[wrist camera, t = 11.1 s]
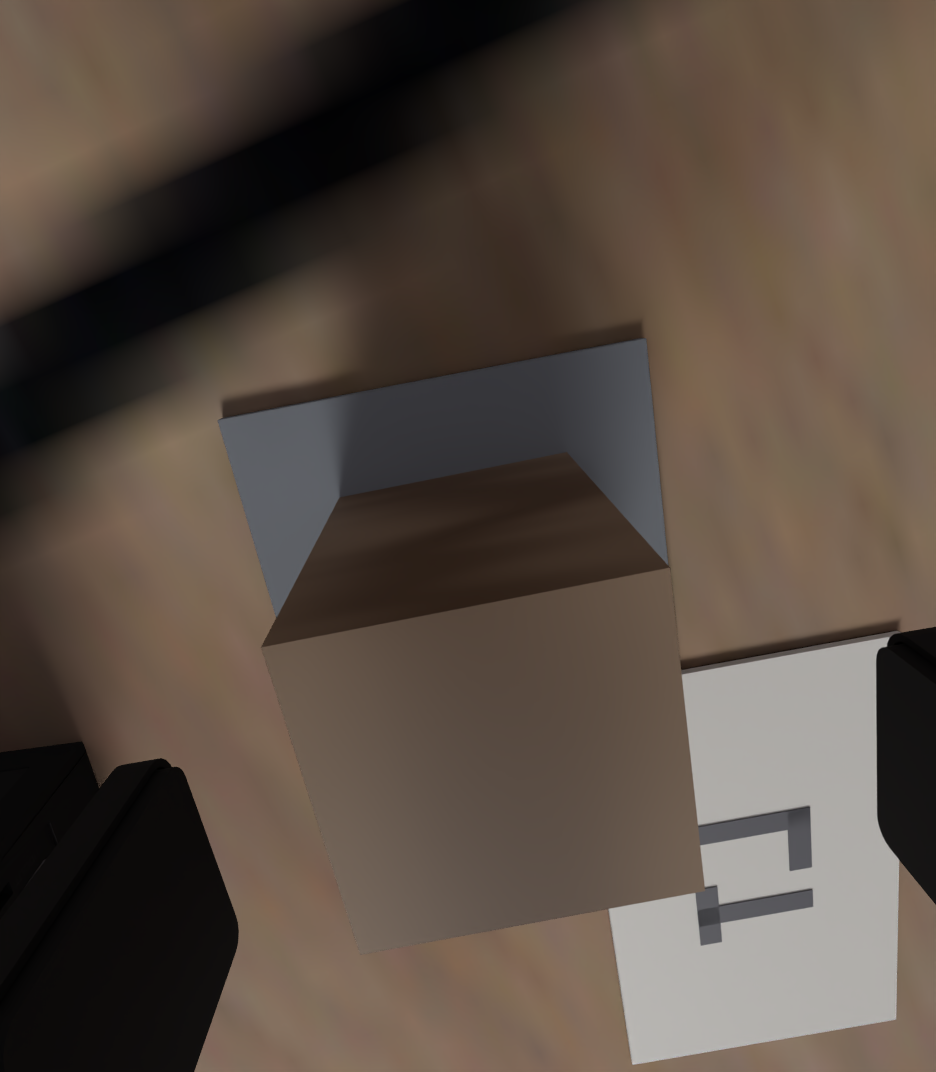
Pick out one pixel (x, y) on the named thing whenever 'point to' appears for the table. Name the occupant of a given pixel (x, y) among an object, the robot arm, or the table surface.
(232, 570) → the table surface
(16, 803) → the digital camera
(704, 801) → the card
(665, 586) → the walnut block
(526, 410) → the rubber mat
